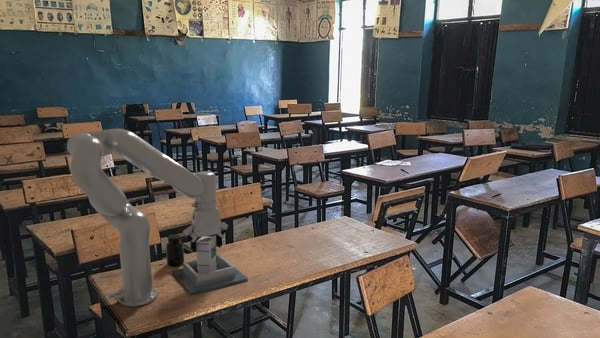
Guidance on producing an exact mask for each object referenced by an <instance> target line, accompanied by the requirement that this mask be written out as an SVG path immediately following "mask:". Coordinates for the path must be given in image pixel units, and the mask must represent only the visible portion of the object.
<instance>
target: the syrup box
mask: <svg viewBox="0 0 600 338" xmlns="http://www.w3.org/2000/svg"><path fill="white" fill-rule="evenodd" d="M195 242H196V252H195V253H196V259H197V268H198V275H199V274H203V273H207V272H212V271H216V270H217V255H218V254H217V246H216V236H211V235H210V236H204V237H199V238H198V240H197V239H196V240H195Z"/></svg>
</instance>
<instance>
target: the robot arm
mask: <svg viewBox="0 0 600 338" xmlns="http://www.w3.org/2000/svg"><path fill="white" fill-rule="evenodd" d="M66 150H67V152H68V154H69V155H70V156H71V157H72V159H71V161H70V173H71V177H72V180H73V181H74V183H75V184H76V185H77V187H78V188H79V189H80V190H81V191H82V192H83V193H84V194H85V196H86V197H87V198H88V201H89V203H90V206H92V207H93V208H94V209H95V211H96V212H97V213H98V214H99V215H101V217H102V218H103V219H104V220H105V221H106V222H107V223H108V224H109V225H110V227H112V228H114V230H116V232H118V233H119V235H120V239H119V259H120V270H121V281H122V285H120V288H119V289H117V291H111V292H108V293H107V295H108V299H109V300H110V299H113V300H114V301H115V300H116V301H117V300H118V303H119V304H120V303H121V304H120V305H122V306H124V307H130V306H131V308H132V307H140V306H145V305H149V304H150V303H152V302H154V301H155V300H156V299H157V297H158V291H157V289H155V288H154V287H153V277H152V264H151V263H152V262H151V253H150V251H151V249H150V235H151V234H150V233H151V223H150V220H149V218H148V217H147V215H146V214H145V213H144V212H142V211H141V210H139V209H138V208H136V207H134V206H133V205H132V204H131V203H130V202H129V201H128V199H127V196H126V194H125V192H124V191H122V189H120V188H119V187H118V186H117V185H116V183H114V181H112V180H111V178H109V176H108V175H107V174H106V172H105V171H104V169H103V168H102V159H103V157H104V156H109V155H114V154H116V155H117V156H119V157H121V158H122V159H123V160H125V161H127V162H129V163H130V164H132V165H133V166H135V167H136V168H138V169H139V170H141V171H142V172H144V173H146V174H147V175H149V176H151V177H153V178H156V179H158V180H160V181H162V182H164V183H166V184H168V185H169V186H171V187H172V190H174V191H175V192H177V193H179V194H180V195H184V196H185V197H187V198H191V199H194V202H193V203H191V208H193V212H192V217H191V218H192V219H191V225H189V226H188V227H186V228H185V229H184V230H183V231H182V233H183V235H184V236H185V238H186V239H188V240H189V242H190V250H191V251H192V252H193V253H196V241H197V239H198V238H201V237H204V236H210V237H211V236H215V238H216V248H220V249H221V248H222V245H223V242H222V241H223V240H222V239H223V237H224V235H225V233H226V232H227V229H228V228H229V224H227V223H226V222H222V221H221V216H220V210H219V207H217V188H216V187H217V182H216V181H217V179H216V178H217V177H216V174H215V173H214V172H212V171H205V170H203V171H198V172H192V171H191V170H189V169H188V168H186V167H184V166H183V165H181V164H179V162H176V161H175V160H173V159H172V158H171V157H170V156H168V155H167V154H165V153H163V152H161V151H160V150H158V149H157V148H156V147H154V146H153V145H152V144H150V143H149V142H147V141H145V140H144V139H143V138H141V137H140V136H138V135H137V134H135V132H132V131H130V130H127V129H124V128H108V129H103V130H94V131H84V132H77V133H75V134H73V135H72V136H70V137H69V139H68V140H67V142H66ZM190 232H192V234H191V235H190V234H189V233H190Z"/></svg>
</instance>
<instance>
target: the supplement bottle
mask: <svg viewBox="0 0 600 338" xmlns="http://www.w3.org/2000/svg"><path fill="white" fill-rule="evenodd" d="M165 251H166V264H167V266H168V267H171V268H177V267H181V266H183V262H185V252H184V243H183V242H182V241H181V235H180V234H170V235H168V237H167V242H166V245H165Z"/></svg>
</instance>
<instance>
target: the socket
mask: <svg viewBox="0 0 600 338" xmlns="http://www.w3.org/2000/svg"><path fill="white" fill-rule="evenodd" d="M216 255H217V270H216V271H212V272H207V273H203V274H199V275H198V268H197V258H195V259H191V260H187V261H184V262H183V265H182V268H179V269H173V270H171V274H172V275H173V276H174V277H175V279H176V280H177V281H178V282H179V283H180V284H181V285H182V287H183V288H184V289H185V290H186V292H187V293H188V294H189V295H190V296H194V295H198V294H203V293H207V292H210V291H213V290H218V289H222V288H224V287H225V288H226V287H229V286H232V285H236V284H240V283H244V282H248V280H249V277H247V276H246V275H245V274H243V273H242V272H241V271H240V270H239V269H237V268H236V266H234V265H233V264H232V263H231V262H230V261H228V260H227V259H226V258H225V257H224V256H223V255H222V254H220V253H219V254H216Z"/></svg>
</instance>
